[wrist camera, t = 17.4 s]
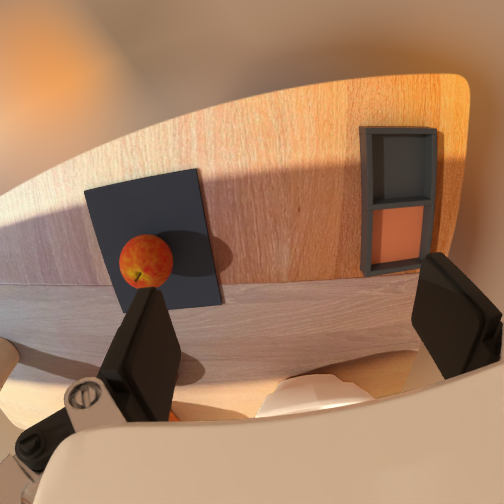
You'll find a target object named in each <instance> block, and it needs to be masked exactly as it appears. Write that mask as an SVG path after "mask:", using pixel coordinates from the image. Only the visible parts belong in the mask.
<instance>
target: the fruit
mask: <svg viewBox="0 0 504 504" xmlns="http://www.w3.org/2000/svg"><path fill="white" fill-rule="evenodd" d="M119 265H120V271H121V273H122V276H123V277H124V279H125V280H126V281H127V283H128V284H130V285H131V286H133V287H135V288H137V289H139V288H144V287H156V288H157V287H159V286H161V285H162V284H163V283H164V282H165V281H166V280H167V279H168V277H169V276H170V274H171V271H172V268H173V256H172V252H171V250H170V248H169V246H168V245H167V244H166V243H165V242H164V241H163V240H162V239H160V238H159V237H157V236H154V235H150V234H143V235H139V236H136V237H134V238H132V239H131V240H130V241H128V242H127V244H126V245H125V246H124V248H123V250H122V252H121V255H120V260H119Z"/></svg>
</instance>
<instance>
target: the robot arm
mask: <svg viewBox="0 0 504 504" xmlns="http://www.w3.org/2000/svg"><path fill="white" fill-rule="evenodd" d="M501 317H502V313H501V312H500V311H499V310H498V309H497V308H496V306H495V305H494V304H493V303H492V302H491V301H490V300H489V299H488V298H487V297H486V296H485V295H484V294H483V293H482V291H481V290H480V289H478V287H477V286H476V285H475V284H474V283H473V282H472V281H471V280H470V279H469V278H468V277H467V276H466V275H465V274H464V273H463V272H462V271H461V270H460V269H458V267H457V266H456V265H454V264H453V263H452V262H451V261H450V260H449V259H448V258H447V257H446V256H445V255H444V254H443V253H441V252H437V253H430V254H427V255H426V256H425V258H424V259H423V260H422V262H421V268H420V274H419V280H418V286H417V292H416V297H415V302H414V307H413V312H412V317H411V321H412V325H413V327H414V329H415V330H416V332H417V333H418V335H419V337H420V338H421V340H422V341H423V343H424V345H425V346H426V348H427V350H428V351H429V353H430V355H431V356H432V358H433V360H434V362H435V363H436V365H437V367H438V369H439V370H440V372H441V374H442V376H443V377H444V379H445V380H444V381H440V382H438V383H434V384H431V385H427V386H424V387H420V388H417V389H413V390H410V391H406V392H402V393H398V394H394V395H390V396H386V397H382V398H378V399H373V400H369V401H364V402H359V403H355V404H350V405H344V406H339V407H333V408H328V409H322V410H315V411H309V412H302V413H294V414H287V415H278V416H269V417H259V418H247V419H232V420H212V421H179V422H168V420H169V415H170V409H171V404H172V398H173V393H174V388H175V383H176V378H177V373H178V368H179V363H180V358H181V349H180V345H179V343H178V340H177V337H176V334H175V331H174V328H173V325H172V322H171V319H170V316H169V313H168V310H167V306H166V303H165V300H164V297H163V294H162V292H161V290H157V289H156V287H144V288H139V289H138V290H137V292H136V294H135V296H134V298H133V301H132V303H131V305H130V307H129V309H128V311H127V313H126V315H125V317H124V319H123V322H122V324H121V326H120V327H119V328H118V330H117V332H116V334H115V336H114V339H113V341H112V343H111V345H110V347H109V350H108V352H107V354H106V356H105V359H104V361H103V363H102V366H101V368H100V370H99V373H98V375H97V377H96V378H95V377H85V378H82V379H79V380H77V381H76V382H74V383H73V384H72V385H71V386H70V387H69V388H68V389H67V391H66V393H65V395H64V405H65V407H64V408H63V409H61V410H59V411H57V412H56V413H54V414H52V415H51V416H49V417H47V418H46V419H44V420H42V421H40V422H39V423H37V424H35V425H33V426H32V427H30V428H28V429H26V430H25V431H24V432H23V433H21V435H20V436H19V437H18V439H17V441H16V445H15V452H16V454H15V455H14V456H12V455H11V454H9V455H8V456H7V457H6V458H5V459H4V460H3V461H2V462H1V463H0V504H504V323H502V322H501V321H500V320H501Z"/></svg>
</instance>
